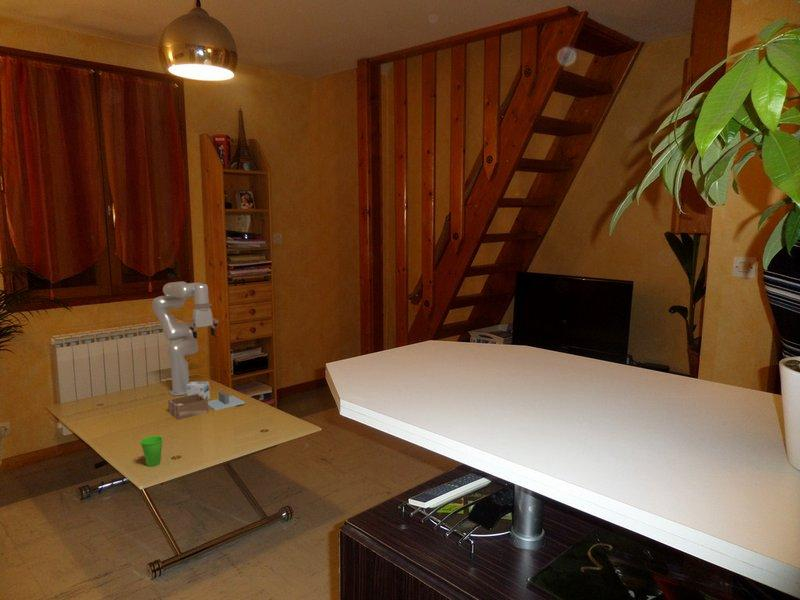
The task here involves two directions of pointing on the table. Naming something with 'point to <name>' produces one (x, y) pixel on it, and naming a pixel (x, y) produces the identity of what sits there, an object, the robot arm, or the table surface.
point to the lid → (224, 401)
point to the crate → (188, 406)
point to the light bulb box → (198, 389)
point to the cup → (152, 449)
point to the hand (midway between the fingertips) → (204, 336)
